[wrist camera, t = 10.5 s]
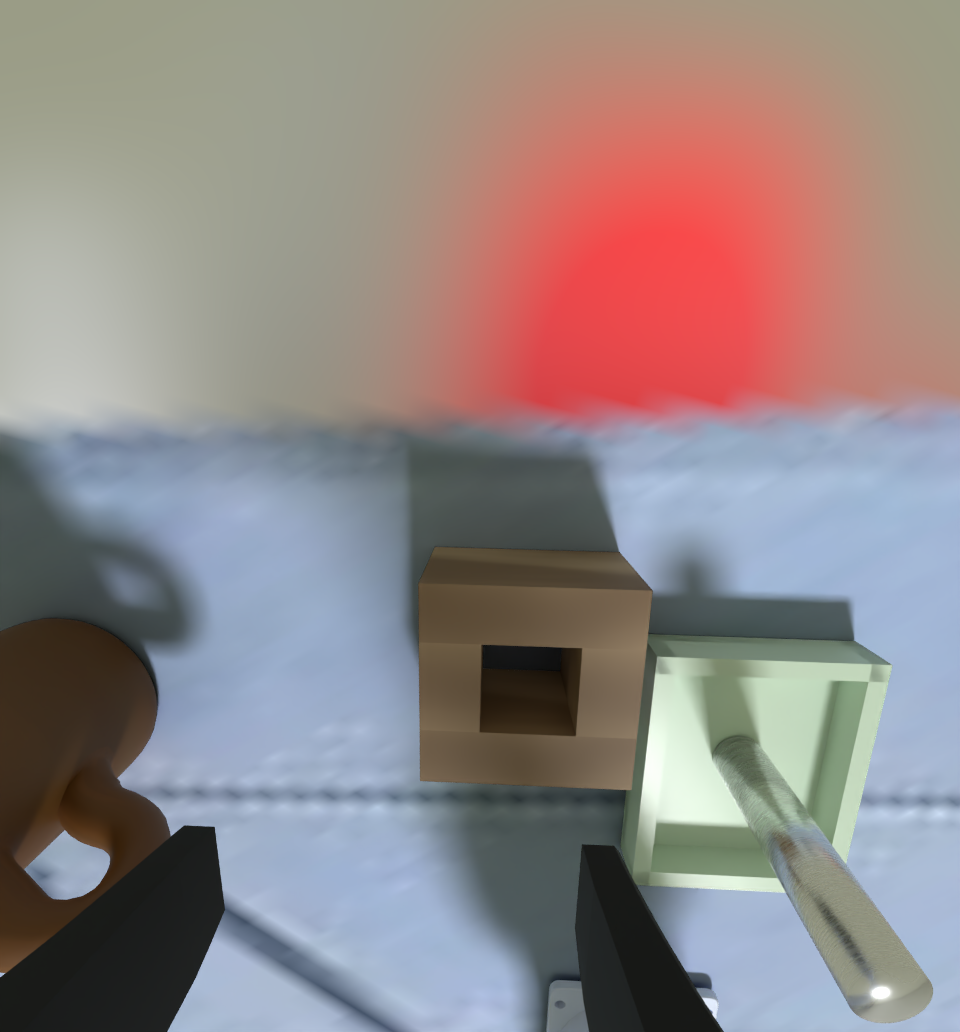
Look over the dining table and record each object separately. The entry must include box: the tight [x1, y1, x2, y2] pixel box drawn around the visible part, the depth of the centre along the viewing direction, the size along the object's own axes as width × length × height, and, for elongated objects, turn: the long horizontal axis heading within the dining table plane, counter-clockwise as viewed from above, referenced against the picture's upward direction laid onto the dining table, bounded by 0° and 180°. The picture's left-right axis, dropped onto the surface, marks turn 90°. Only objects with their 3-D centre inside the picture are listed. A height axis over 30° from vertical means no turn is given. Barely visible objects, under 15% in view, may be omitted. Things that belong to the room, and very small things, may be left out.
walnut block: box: [418, 547, 653, 790], centre depth 17 cm, size 7×7×4 cm
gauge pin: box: [713, 736, 933, 1023], centre depth 16 cm, size 2×2×8 cm
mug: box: [0, 618, 171, 973], centre depth 16 cm, size 12×8×9 cm, turn 75°
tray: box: [620, 634, 892, 893], centre depth 19 cm, size 10×8×2 cm
